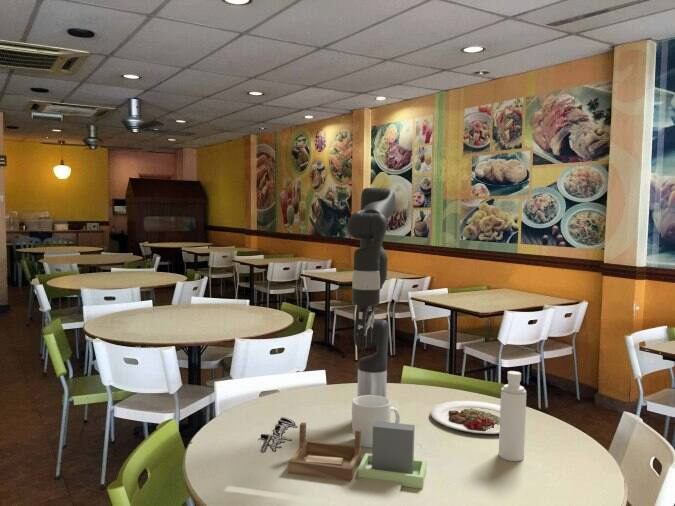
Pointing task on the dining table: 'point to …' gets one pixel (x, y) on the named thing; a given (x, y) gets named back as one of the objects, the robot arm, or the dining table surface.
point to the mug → (370, 415)
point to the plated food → (467, 416)
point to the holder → (395, 473)
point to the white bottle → (512, 419)
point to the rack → (313, 448)
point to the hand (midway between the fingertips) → (364, 345)
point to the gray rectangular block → (393, 447)
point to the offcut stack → (325, 460)
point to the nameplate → (278, 434)
